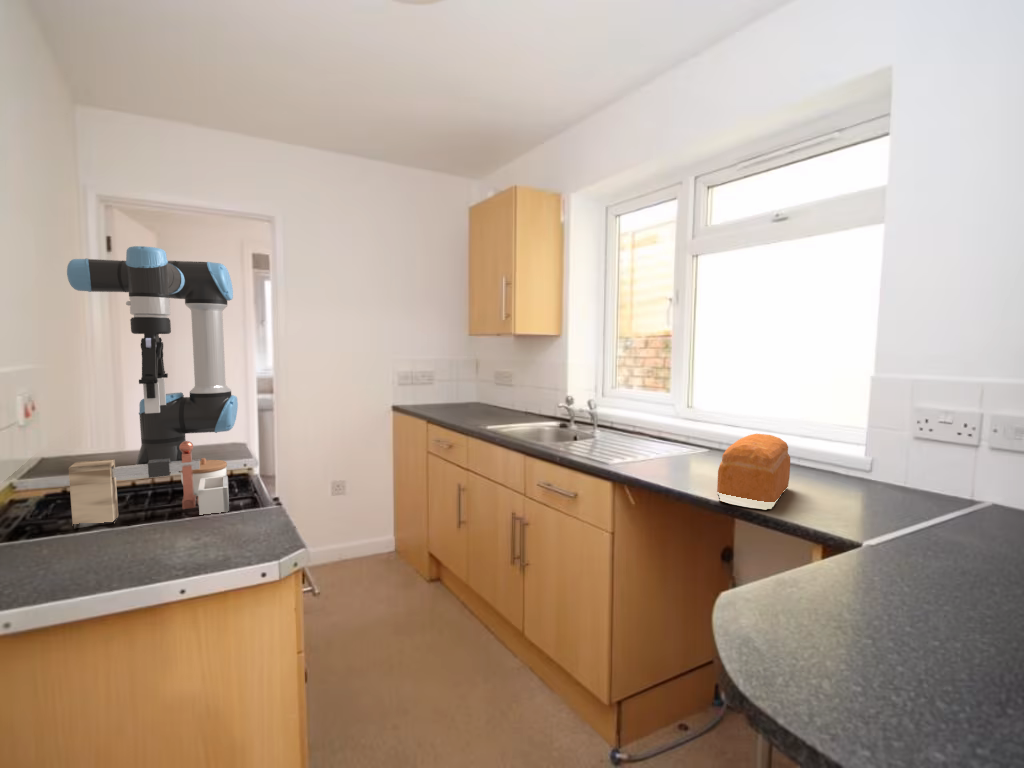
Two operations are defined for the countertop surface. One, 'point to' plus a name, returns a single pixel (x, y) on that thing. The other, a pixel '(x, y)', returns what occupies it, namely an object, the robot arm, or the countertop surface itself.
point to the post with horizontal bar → (167, 471)
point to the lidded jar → (207, 471)
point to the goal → (213, 495)
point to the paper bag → (93, 492)
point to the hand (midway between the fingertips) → (156, 409)
